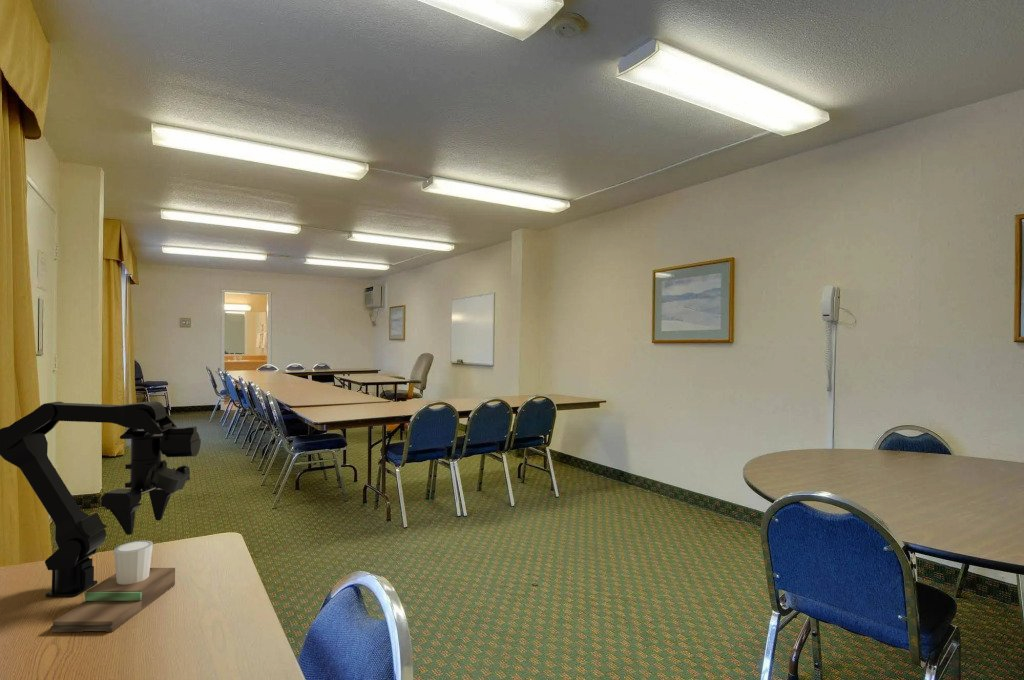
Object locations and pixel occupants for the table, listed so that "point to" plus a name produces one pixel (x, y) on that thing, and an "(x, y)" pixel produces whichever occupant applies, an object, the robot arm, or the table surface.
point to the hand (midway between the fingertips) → (144, 527)
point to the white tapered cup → (133, 561)
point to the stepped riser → (115, 602)
